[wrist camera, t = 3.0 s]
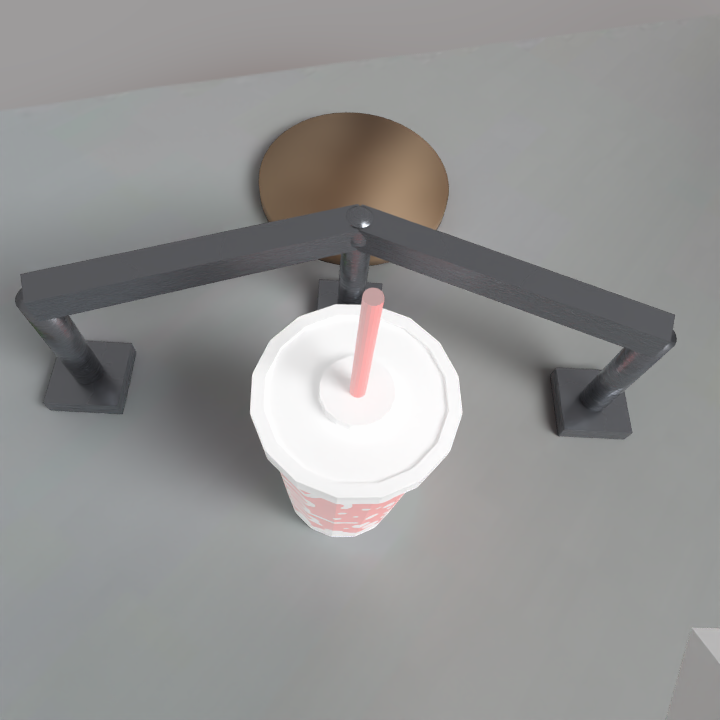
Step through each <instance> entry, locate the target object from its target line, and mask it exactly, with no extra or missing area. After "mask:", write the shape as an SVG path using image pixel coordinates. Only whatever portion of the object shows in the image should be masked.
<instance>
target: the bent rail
mask: <svg viewBox="0 0 720 720" xmlns="http://www.w3.org/2000/svg"><path fill="white" fill-rule="evenodd" d="M338 254H341V259H340V273H339V281H333V280H319V292H318V307H317V310H320V309H323V308H326V307H329V306H332V305H335V304H346V305H361V303H362V296H363V293H364V291H365V290H367V289H369V288H377V289H380V290H381V291H382V284H381V283H367V276H368V269H369V262H370V255H372V256H374V257H377V258H380V259H383V260H385V261H388V262H391V263H394V264H396V265H399V266H402V267H405V268H407V269H410V270H413V271H416V272H418V273H421V274H424V275H427V276H429V277H432V278H435V279H438V280H440V281H443V282H446V283H449V284H451V285H454V286H457V287H460V288H462V289H465V290H468V291H471V292H473V293H476V294H479V295H482V296H484V297H487V298H490V299H493V300H495V301H498V302H501V303H504V304H506V305H509V306H512V307H515V308H517V309H520V310H523V311H526V312H528V313H531V314H534V315H537V316H539V317H542V318H545V319H548V320H551V321H553V322H556V323H559V324H562V325H564V326H567V327H570V328H573V329H575V330H578V331H581V332H584V333H586V334H589V335H592V336H595V337H597V338H600V339H603V340H606V341H608V342H611V343H614V344H617V345H619V346H622V347H624V348H623V349H622V350H621V351H620V352H619V353H618V354H617V355H616V356H615V357H614V358H613V359H612V361H611V362H610V363H609V364H608V365H607V366H606V367H605V368H604V369H603V370H591V369H573V368H556V369H555V370H554V371H553V372H552V374H551V375H550V378H551V386H552V393H553V401H554V408H555V416H556V423H557V431H558V436H569V437H589V438H609V439H625V438H626V437H628V436H629V435H630V434H632V428H631V423H630V418H629V413H628V408H627V402H626V397H625V392H624V391H625V390H626V389H627V388H628V387H629V386H630V385H631V384H632V383H634V382H635V381H636V380H637V379H638V378H639V377H640V376H641V375H642V374H644V373H645V372H646V371H647V370H648V369H649V368H650V367H651V366H652V365H654V364H655V363H656V362H657V361H658V360H659V359H660V358H661V357H662V356H664V355H665V354H666V353H667V352H668V351H669V350H670V349H671V348H672V347H674V345H675V344H676V340H677V338H676V334H675V332H674V330H673V324H674V318H675V315H674V314H671V313H668V312H666V311H663V310H660V309H657V308H654V307H651V306H649V305H646V304H643V303H640V302H637V301H635V300H632V299H629V298H626V297H623V296H620V295H618V294H615V293H612V292H609V291H606V290H603V289H601V288H598V287H595V286H592V285H589V284H587V283H584V282H581V281H578V280H575V279H572V278H570V277H567V276H564V275H561V274H558V273H555V272H553V271H550V270H547V269H544V268H541V267H538V266H536V265H533V264H530V263H527V262H524V261H522V260H519V259H516V258H513V257H510V256H507V255H505V254H502V253H499V252H496V251H493V250H490V249H488V248H485V247H482V246H479V245H476V244H474V243H471V242H468V241H465V240H462V239H459V238H457V237H454V236H451V235H448V234H445V233H442V232H440V231H437V230H434V229H431V228H428V227H426V226H423V225H420V224H417V223H414V222H411V221H409V220H406V219H403V218H400V217H397V216H394V215H392V214H389V213H386V212H383V211H380V210H377V209H375V208H372V207H369V206H366V205H363V204H362V205H361V206H359V204H355V205H350V206H345V207H341V208H336V209H331V210H326V211H321V212H317V213H312V214H307V215H302V216H297V217H293V218H288V219H283V220H278V221H273V222H269V223H264V224H259V225H254V226H249V227H245V228H240V229H235V230H230V231H225V232H221V233H216V234H211V235H206V236H201V237H197V238H192V239H187V240H182V241H177V242H173V243H168V244H163V245H158V246H154V247H149V248H144V249H139V250H134V251H130V252H125V253H120V254H115V255H110V256H106V257H101V258H96V259H91V260H86V261H82V262H77V263H72V264H67V265H62V266H58V267H53V268H48V269H43V270H38V271H34V272H29V273H24V274H21V283H22V289H21V290H20V291H19V292H18V293H17V295H16V298H15V302H16V305H17V307H18V308H19V309H20V311H21V312H22V313H23V314H24V316H25V317H26V318H27V320H28V321H29V322H30V323H31V325H32V326H33V327H34V328H35V330H36V331H37V332H38V333H39V335H40V336H41V337H42V338H43V340H44V341H45V342H46V343H47V345H48V346H49V347H50V348H51V350H52V351H53V352H54V353H55V355H56V356H57V357H56V361H55V364H54V368H53V371H52V374H51V378H50V381H49V385H48V388H47V392H46V395H45V399H44V402H43V403H44V404H45V405H46V406H47V407H48V408H49V409H50V410H55V411H75V412H94V413H114V414H123V410H124V405H125V401H126V396H127V391H128V387H129V382H130V378H131V373H132V369H133V364H134V360H135V355H136V351H135V349H134V347H133V345H132V343H114V342H97V341H85V339H84V338H83V336H82V335H81V333H80V332H79V330H78V329H77V327H76V326H75V324H74V323H73V321H72V320H71V318H70V317H69V315H72V314H76V313H81V312H85V311H90V310H94V309H99V308H103V307H107V306H112V305H116V304H121V303H125V302H130V301H134V300H139V299H143V298H147V297H152V296H156V295H161V294H165V293H170V292H174V291H178V290H183V289H187V288H192V287H196V286H201V285H205V284H210V283H214V282H218V281H223V280H227V279H232V278H236V277H241V276H245V275H250V274H254V273H258V272H263V271H267V270H272V269H276V268H281V267H285V266H290V265H294V264H298V263H303V262H307V261H312V260H316V259H321V258H325V257H329V256H334V255H338Z"/></svg>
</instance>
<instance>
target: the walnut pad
mask: <svg viewBox="0 0 720 720" xmlns="http://www.w3.org/2000/svg"><path fill="white" fill-rule="evenodd" d="M259 189H260V197H261V204H262V207H263V210H264V213H265V215H266V217H267V219H268V221H269V222H273V221H278V220H283V219H288V218H293V217H297V216H302V215H307V214H312V213H317V212H321V211H326V210H331V209H336V208H341V207H345V206H350V205H355V204H359V206H361V205H362V204H363V205H366V206H369V207H372V208H375V209H377V210H380V211H383V212H386V213H389V214H392V215H394V216H397V217H400V218H403V219H406V220H409V221H411V222H414V223H417V224H420V225H423V226H426V227H428V228H431V229H434V230H437V228H438V226H439V225H440V223H441V220H442V218H443V215H444V212H445V208H446V205H447V200H448V196H449V184H448V177H447V174H446V171H445V168H444V165H443V163H442V161H441V159H440V158H439V156H438V155H437V153H436V152H435V151H434V149H433V148H432V147H431V146H430V145H429V144H428V143H427V142H426V141H425V140H424V139H423V138H421V137H420V136H419V135H418V134H416V133H415V132H413V131H412V130H410V129H408V128H407V127H405V126H403V125H401V124H399V123H396V122H394V121H392V120H389V119H386V118H383V117H379V116H374V115H370V114H363V113H332V114H326V115H321V116H317V117H313V118H310V119H308V120H305V121H302V122H300V123H298V124H296V125H294V126H293V127H291V128H290V129H288V130H287V131H285V132H284V133H283V134H281V135H280V136H279V137H278V138H277V139H276V140H275V141H274V142H273V143H272V145H271V146H270V147H269V149H268V150H267V152H266V154H265V156H264V158H263V160H262V163H261V167H260V171H259ZM340 259H341V254H338V255H334V256H329V257H325V258H321V259H319V260H322V261H325V262H330V263H334V264H339V265H340ZM383 263H388V261H385V260H383V259H380V258H377V257H374V256H372V255H370V262H369V266H370V265H378V264H383Z"/></svg>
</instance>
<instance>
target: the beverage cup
mask: <svg viewBox="0 0 720 720" xmlns="http://www.w3.org/2000/svg"><path fill="white" fill-rule="evenodd" d="M383 304H384V294H383V292H382V291H381V290H380V289H377V288H369V289H367V290H365V291H364V293H363V296H362V303H361V305H346V304H335V305H332V306H329V307H326V308H323V309H320V310H317V311H314V312H311V313H308V314H305V315H302V316H299V317H298V318H297V319H295V320H294V321H293V322H292V323H291V324H289V325H288V326H287V327H286V328H285V329H283V330H282V331H281V332H280V333H278V334H277V335H276V336H275V337H274V338H272V339H271V340H270V341H269V343H268V345H267V347H266V349H265V351H264V353H263V355H262V356H261V358H260V360H259V362H258V364H257V366H256V368H255V370H254V372H253V374H252V387H251V404H250V415H251V418H252V421H253V423H254V426H255V428H256V431H257V433H258V436H259V439H260V441H261V444H262V446H263V449H264V451H265V454H266V456H267V459H268V460H269V461H270V462H271V463H272V464H273V465H274V466H275V467H276V468H277V469H278V470H279V471H280V473H281V476H282V479H283V481H284V484H285V487H286V490H287V492H288V495H289V497H290V500H291V502H292V505H293V508H294V510H295V513H296V514H297V515H298V516H299V517H300V518H301V519H302V520H303V521H304V522H305V523H306V524H307V525H308V526H309V527H310V528H311V529H314V530H316V531H319V532H321V533H324V534H326V535H328V536H331V537H355V536H357V535H359V534H361V533H364V532H366V531H368V530H370V529H373V528H375V527H376V526H377V524H378V523H379V522H380V521H381V520H382V519H383V518H384V517H385V516H386V515H387V514H388V513H389V512H390V510H391V509H392V508H393V507H394V505H395V504H396V503H397V502H398V501H399V499H400V498H401V497H402V496H403V495H404V493H405V492H408V491H410V490H412V489H415V488H417V487H418V486H419V485H420V484H421V483H422V482H423V481H424V480H425V478H426V477H427V476H428V475H429V474H430V473H431V472H432V471H433V470H434V469H435V468H436V467H437V466H438V464H439V463H440V462H441V461H442V460H443V459H444V458H445V457H446V455H447V454H448V453H449V452H450V450H451V447H452V444H453V441H454V438H455V435H456V432H457V429H458V426H459V423H460V419H461V416H462V404H461V395H460V386H459V377H458V374H457V372H456V371H455V369H454V367H453V365H452V363H451V362H450V360H449V358H448V356H447V355H446V353H445V351H444V349H443V347H442V346H441V344H440V342H439V341H437V340H436V339H435V338H434V337H432V336H431V335H430V334H429V333H428V332H426V331H425V330H424V329H423V328H422V327H420V326H419V325H418V324H417V323H416V322H414V321H413V320H412V319H411V318H408V317H406V316H403V315H400V314H397V313H395V312H392V311H389V310H386V309H384V308H383Z"/></svg>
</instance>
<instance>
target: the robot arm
mask: <svg viewBox="0 0 720 720" xmlns="http://www.w3.org/2000/svg"><path fill="white" fill-rule="evenodd" d="M666 720H720V628H691V631H690V634H689V638H688V642H687V645H686V649H685V652H684V656H683V660H682V663H681V667H680V670H679V674H678V678H677V681H676V685H675V689H674V692H673V696H672V699H671V703H670V707H669V710H668V714H667V717H666Z"/></svg>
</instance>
